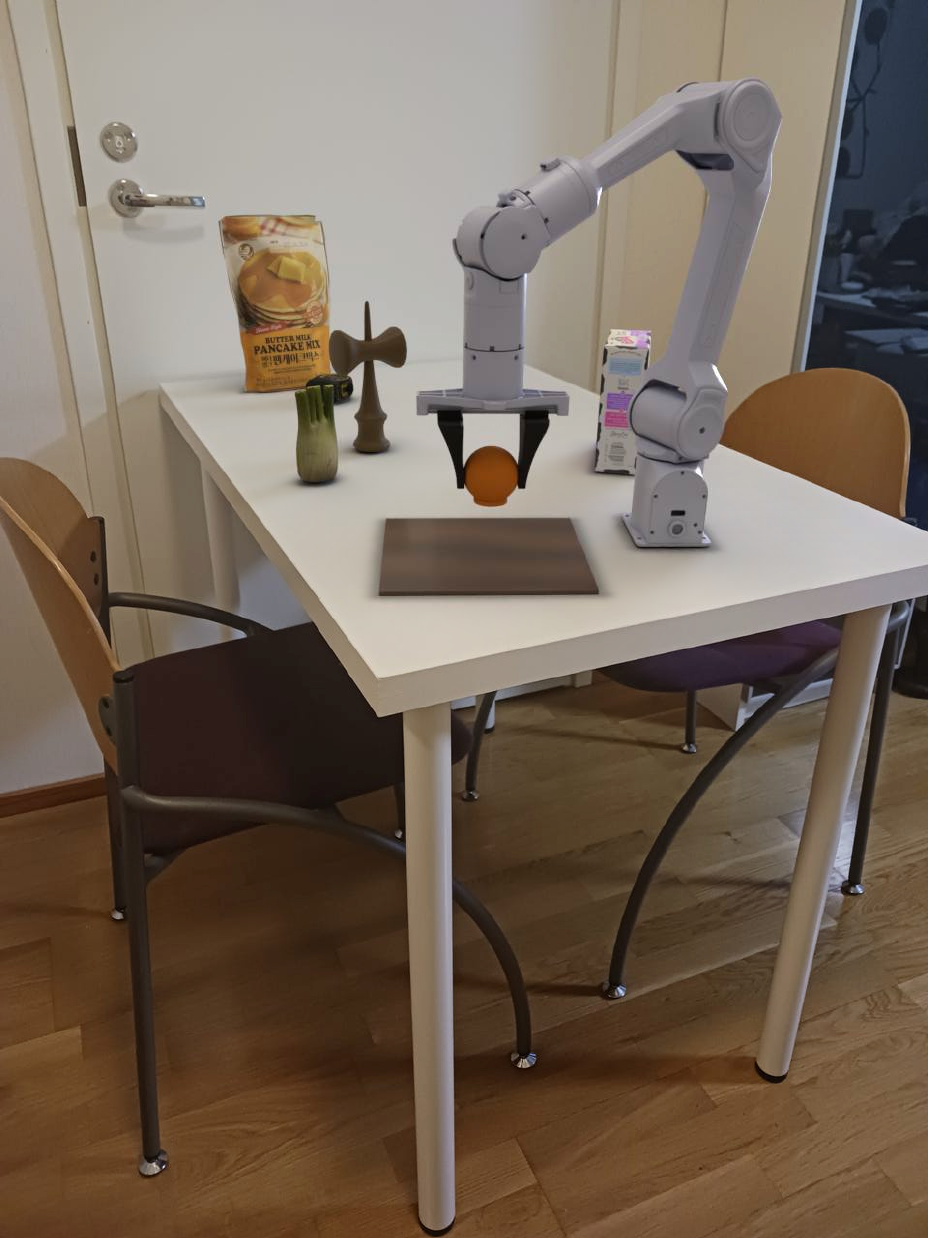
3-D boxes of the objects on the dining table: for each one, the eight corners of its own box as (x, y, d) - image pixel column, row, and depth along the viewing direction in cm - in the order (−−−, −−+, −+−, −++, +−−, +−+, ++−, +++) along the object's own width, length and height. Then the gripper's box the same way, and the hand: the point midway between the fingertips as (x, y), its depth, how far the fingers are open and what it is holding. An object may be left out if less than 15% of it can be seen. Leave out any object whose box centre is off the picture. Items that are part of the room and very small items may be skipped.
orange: (520, 510, 94) (522, 454, 92) (463, 510, 94) (464, 454, 92) (515, 492, 99) (517, 438, 97) (461, 492, 99) (462, 438, 97)
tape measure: (304, 400, 161) (302, 377, 159) (332, 392, 166) (331, 370, 164) (334, 406, 157) (333, 383, 156) (362, 398, 162) (361, 376, 161)
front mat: (598, 593, 92) (599, 590, 92) (379, 595, 91) (378, 591, 91) (570, 521, 110) (570, 517, 110) (386, 521, 109) (386, 518, 109)
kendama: (331, 449, 135) (323, 300, 126) (391, 439, 140) (387, 295, 131) (350, 459, 131) (344, 306, 122) (412, 449, 135) (410, 300, 127)
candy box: (638, 476, 126) (650, 346, 118) (593, 472, 127) (602, 344, 119) (642, 447, 138) (653, 328, 131) (600, 444, 139) (609, 326, 132)
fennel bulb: (336, 472, 126) (331, 379, 120) (346, 483, 121) (342, 388, 116) (292, 477, 124) (285, 383, 118) (300, 488, 120) (294, 391, 114)
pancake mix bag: (228, 388, 168) (211, 214, 156) (329, 377, 177) (321, 211, 165) (240, 396, 163) (224, 216, 151) (344, 384, 172) (337, 214, 159)
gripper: (415, 353, 86) (417, 498, 92) (577, 354, 87) (568, 498, 93) (416, 339, 92) (417, 476, 98) (566, 340, 93) (558, 476, 99)
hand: (490, 485), depth 96 cm, fingers closed on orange, 5 cm apart
